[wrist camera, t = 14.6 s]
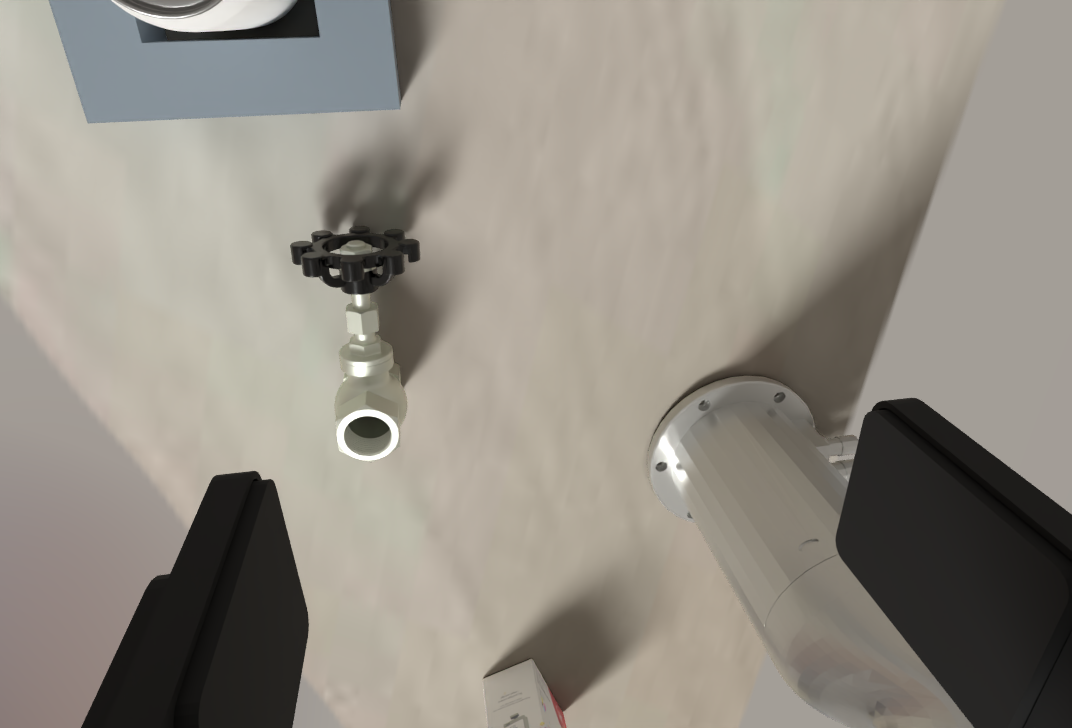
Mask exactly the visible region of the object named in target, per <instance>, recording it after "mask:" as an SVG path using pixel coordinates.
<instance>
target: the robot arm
mask: <svg viewBox="0 0 1072 728" xmlns="http://www.w3.org/2000/svg"><path fill="white" fill-rule="evenodd" d="M852 454H855V457H854V459H850V460H842V461H836V462H835V463H830V462H829V457H830V456H836V455H838V456H844V455H852ZM647 471H648V478H649V480H650V483H651V486H652V489H653V490H654V492H655V494H656V496H657V498H658V500H659V501H660V502H661V503H662V504H663V506H664V507H665V508H666V509H667V510H668V511H670V512H671V513H673V514H674V515H675V516H677V517H679V518H681V519H683V520H686V521H688V522H693V523H696V525H697V527H698V529H699V530H700V532H701V534H702V536H703V538H704V539H705V541H706V543H707V545H708V547H709V548H710V550H711V552H712V554H713V556H714V557H715V559H716V561H717V563H718V565H719V566H720V568H721V570H722V572H723V574H724V575H725V577H726V579H727V581H728V583H729V584H730V586H731V588H732V590H733V592H734V593H735V595H736V597H737V599H738V601H739V602H740V604H741V606H742V608H743V610H744V611H745V613H746V615H747V617H748V619H749V620H750V622H751V624H752V626H753V628H754V629H755V631H756V633H757V635H758V637H759V638H760V640H761V642H762V644H763V646H764V647H765V649H766V651H767V653H768V654H769V656H770V658H771V660H772V661H773V663H774V665H775V666H776V668H777V670H778V672H779V673H780V675H781V676H782V678H783V679H784V681H785V682H786V683H787V685H788V686H789V687H790V688H791V689H792V690H793V691H794V692H795V694H797V695H798V696H799V697H800V698H801V699H802V700H803V701H805V702H806V703H807V704H808V705H810V706H811V707H812V708H814V709H816V710H817V711H819V712H820V713H822V714H823V715H825V716H827V717H829V718H831V719H833V720H835V721H837V722H839V723H841V724H843V725H845V726H847V727H850V728H1072V514H1070V513H1069V512H1068V511H1066V510H1065V509H1064V508H1062V507H1061V506H1059V505H1058V504H1057V503H1056V502H1054V501H1053V500H1052V499H1050V498H1049V497H1048V496H1046V495H1045V494H1044V493H1042V492H1041V491H1040V490H1038V489H1037V488H1036V487H1035V486H1033V485H1032V484H1031V483H1029V482H1028V481H1026V480H1025V479H1024V478H1023V477H1021V476H1020V475H1019V474H1017V473H1016V472H1015V471H1013V470H1012V469H1011V468H1010V467H1008V466H1007V465H1006V464H1004V463H1003V462H1002V461H1000V460H999V459H998V458H996V457H995V456H994V455H992V454H991V453H989V452H988V451H987V450H986V449H984V448H983V447H982V446H981V445H979V444H977V442H975V441H974V440H972V439H971V438H970V437H969V436H967V435H966V434H965V433H963V432H962V431H961V430H959V429H958V428H957V427H955V426H954V425H953V424H951V423H950V422H949V421H948V420H946V419H945V418H944V417H942V416H941V415H940V414H938V413H937V412H936V411H934V410H933V409H932V408H930V407H929V406H928V405H926V404H925V403H924V402H922V401H921V400H919V399H917V398H906V399H897V400H888V401H881V402H878V403H877V404H876V405H875V406H874V407H873V409H872V411H871V412H868V413H867V414H866V415H865V418H864V420H863V424H862V428H861V433H860V437H859V441H858V439H857V438H856V436H854V435H847V436H839V437H835V438H830V439H826V438H825V437H824V436H821V435H820V434H819V433H818V432H817V431H816V429H815V424H814V418H813V416H812V414H811V412H810V410H809V408H808V406H807V405H806V404H805V403H804V401H803V400H802V399H801V398H800V397H799V396H798V395H797V394H796V393H795V392H794V391H793V390H791V389H790V388H789V387H788V386H786V385H784V384H782V383H780V382H778V381H776V380H773V379H769V378H766V377H760V376H738V377H730V378H726V379H723V380H719V381H715V382H713V383H711V384H708V385H706V386H704V387H702V388H700V389H698V390H696V391H695V392H693V393H692V394H690V395H689V396H687V397H686V398H684V399H683V400H682V401H681V402H680V403H678V404H677V405H676V406H675V407H674V408H673V409H672V410H671V411H670V412H669V413H668V415H667V416H666V417H665V418H664V419H663V421H662V422H661V423H660V425H659V427H658V429H657V430H656V432H655V434H654V436H653V438H652V441H651V444H650V447H649V450H648V458H647ZM308 627H309V623H308V612H307V607H306V603H305V599H304V595H303V591H302V587H301V583H300V579H299V576H298V572H297V568H296V564H295V560H294V556H293V552H292V548H291V544H290V540H289V536H288V532H287V529H286V525H285V521H284V517H283V513H282V509H281V505H280V501H279V497H278V493H277V489H276V486H275V483H274V481H273V480H271V479H268V480H262V479H261V476H260V475H259V473H258V472H256V471H250V472H241V473H232V474H223V475H216V476H214V477H213V478H212V480H211V482H210V484H209V486H208V489H207V491H206V493H205V496H204V498H203V500H202V502H201V505H200V507H199V509H198V512H197V514H196V516H195V518H194V521H193V523H192V525H191V528H190V530H189V532H188V535H187V537H186V539H185V541H184V544H183V546H182V548H181V551H180V553H179V555H178V558H177V560H176V562H175V564H174V567H173V569H172V571H171V573H170V574H167V575H160V576H157V577H155V578H154V579H153V580H151V582H150V584H149V585H148V587H147V588H146V590H145V592H144V594H143V597H142V599H141V601H140V603H139V605H138V607H137V609H136V611H135V614H134V616H133V618H132V620H131V622H130V624H129V626H128V628H127V631H126V633H125V635H124V637H123V639H122V641H121V643H120V646H119V648H118V650H117V652H116V654H115V656H114V658H113V661H112V663H111V665H110V667H109V669H108V671H107V673H106V676H105V678H104V680H103V682H102V684H101V686H100V688H99V691H98V693H97V695H96V697H95V699H94V701H93V703H92V706H91V708H90V710H89V712H88V714H87V716H86V718H85V721H84V723H83V725H82V727H81V728H292V725H293V720H294V714H295V708H296V702H297V697H298V691H299V685H300V679H301V673H302V668H303V662H304V656H305V650H306V644H307V638H308Z"/></svg>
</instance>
